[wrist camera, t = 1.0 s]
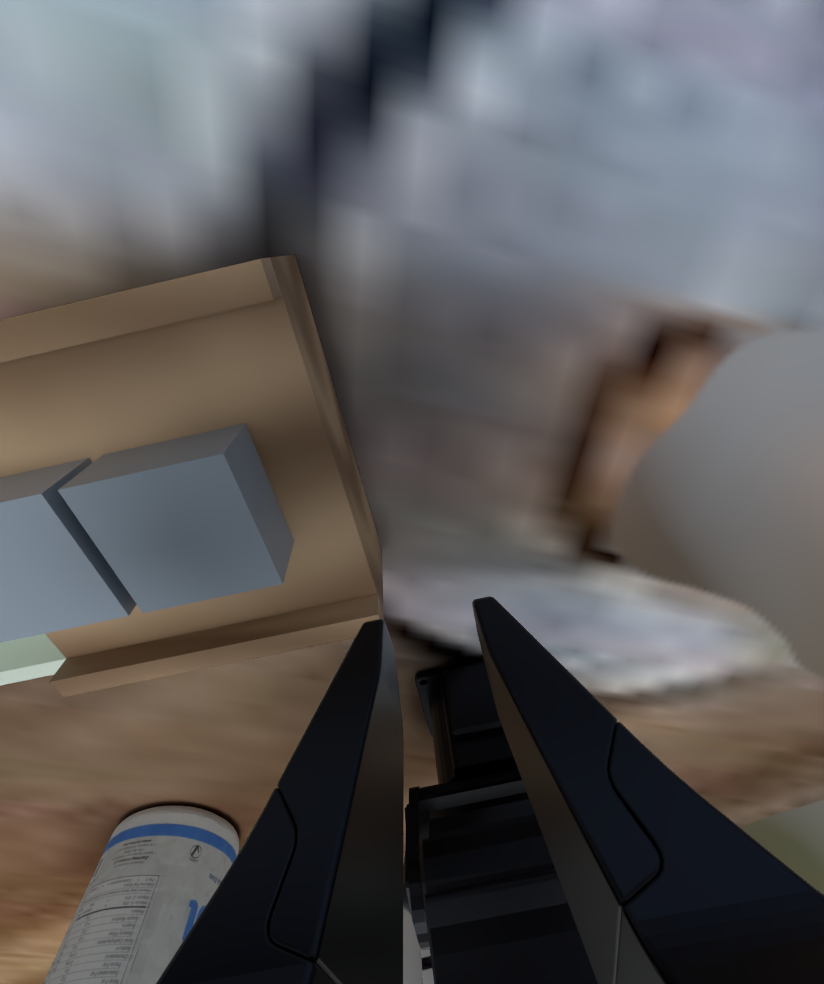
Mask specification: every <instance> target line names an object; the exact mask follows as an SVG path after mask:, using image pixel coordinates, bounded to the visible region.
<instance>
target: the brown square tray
mask: <svg viewBox="0 0 824 984" xmlns="http://www.w3.org/2000/svg"><path fill="white" fill-rule="evenodd" d="M243 423H246V426H247V428H248V430H249V433H250V435H251V438H252V440H253V442H254V445H255V447H256V450H257V452H258V455H259V457H260V459H261V462H262V464H263V467H264V469H265V471H266V474H267V476H268V479H269V481H270V484H271V486H272V488H273V491H274V493H275V496H276V498H277V501H278V503H279V505H280V508H281V510H282V513H283V515H284V517H285V520H286V522H287V525H288V527H289V530H290V532H291V534H292V537H293V539H294V545H293V548H292V552H291V556H290V559H289V563H288V567H287V571H286V574H285V578H284V582H283V584H280V585H276V586H271V587H266V588H261V589H256V590H252V591H247V592H242V593H237V594H232V595H228V596H223V597H218V598H213V599H208V600H204V601H199V602H194V603H189V604H185V605H180V606H175V607H170V608H165V609H161V610H156V611H151V612H146V613H142V611H141V610H140V608H139V607H138V605H136V606H135V608H134V609H133V611H132V612H131V614H130V615H129V616H127V617H122V618H117V619H113V620H108V621H103V622H98V623H93V624H89V625H84V626H79V627H74V628H69V629H65V630H60V631H55V632H50V633H45V635H46V636H47V637H48V638H49V639H50V640H51V641H52V643H53V644H54V645H55V646H56V647H57V648H58V649H59V651H60V652H61V653H62V654H63V655H64V656H65V657H66V660H65V661H64V662H63V664H62V665H61V667H60V668H59V669H58V671H57V672H56V673H55V675H54V676H53V677H52V679H51V680H50V681H49V683H50V684H51V685H52V686H53V687H54V688H55V689H56V690H57V691H58V692H59V693H60V694H61V695H62V696H63V697H66V696H71V695H75V694H80V693H85V692H90V691H95V690H100V689H105V688H110V687H115V686H120V685H125V684H130V683H135V682H139V681H144V680H149V679H154V678H159V677H164V676H169V675H174V674H179V673H184V672H189V671H194V670H199V669H204V668H208V667H213V666H218V665H223V664H228V663H233V662H238V661H243V660H248V659H253V658H258V657H263V656H268V655H272V654H277V653H282V652H287V651H292V650H297V649H302V648H307V647H312V646H317V645H322V644H327V643H332V642H336V641H341V640H346V639H351V638H355V637H356V636H357V634H358V632H359V630H360V628H361V626H362V625H363V623H365V622H367V621H372V620H377V619H382V620H383V580H382V549H381V545H380V542H379V539H378V535H377V532H376V528H375V525H374V522H373V518H372V515H371V511H370V508H369V505H368V501H367V498H366V494H365V491H364V488H363V484H362V481H361V478H360V474H359V471H358V467H357V464H356V461H355V457H354V454H353V450H352V447H351V444H350V440H349V437H348V434H347V430H346V427H345V423H344V420H343V417H342V413H341V410H340V406H339V403H338V400H337V396H336V393H335V389H334V386H333V383H332V379H331V376H330V373H329V369H328V366H327V362H326V359H325V356H324V352H323V349H322V345H321V342H320V339H319V335H318V332H317V328H316V325H315V322H314V318H313V315H312V312H311V308H310V305H309V301H308V298H307V295H306V291H305V288H304V284H303V281H302V278H301V274H300V271H299V267H298V264H297V261H296V257H295V254H293V255H285V256H278V257H270V258H263V259H257V260H253V261H249V262H245V263H240V264H236V265H232V266H227V267H223V268H219V269H215V270H210V271H206V272H202V273H198V274H193V275H189V276H185V277H181V278H176V279H172V280H168V281H163V282H159V283H155V284H151V285H146V286H142V287H138V288H134V289H129V290H125V291H121V292H117V293H112V294H108V295H104V296H100V297H95V298H91V299H87V300H82V301H78V302H74V303H70V304H65V305H61V306H57V307H53V308H48V309H44V310H40V311H36V312H31V313H27V314H23V315H18V316H14V317H10V318H6V319H1V320H0V477H4V476H9V475H13V474H18V473H22V472H27V471H31V470H36V469H40V468H45V467H49V466H54V465H58V464H63V463H67V462H72V461H76V460H81V459H85V458H90V460H91V461H92V463H93V462H94V461H96V460H97V459H98V458H99V457H101V456H102V455H103V454H108V453H112V452H117V451H121V450H126V449H131V448H135V447H140V446H144V445H149V444H153V443H158V442H162V441H167V440H171V439H176V438H180V437H185V436H189V435H194V434H198V433H203V432H207V431H212V430H216V429H221V428H225V427H230V426H234V425H239V424H243Z"/></svg>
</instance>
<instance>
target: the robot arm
mask: <svg viewBox="0 0 824 984" xmlns="http://www.w3.org/2000/svg"><path fill="white" fill-rule="evenodd" d="M472 604H473V610H474V616H475V621H476V627H477V632H478V636H479V641H480V645H481V649H482V653H483V657H484V660H479V661H474V662H469V663H464V664H459V665H454V666H449V667H444V668H439V669H434V670H429V671H424V672H420V673H418V674H417V675H416V676H415V681H416V686H417V690H418V693H419V696H420V700H421V703H422V706H423V709H424V713H425V716H426V719H427V723H428V726H429V729H430V732H431V735H432V736H433V742H434V750H435V758H436V767H437V775H438V785H433V786H428V787H423V788H419V786H418V787H413V788H409V804H407V807H406V808H405V820H406V851H405V858H404V866H403V725H402V714H401V705H400V697H399V688H398V679H397V670H396V661H395V654H394V649H393V645H392V642H391V639H390V636H389V633H388V630H387V626H386V623H385V621H384V620H382V619H377V620H372V621H367V622H365V623H363V625H362V626H361V628H360V630H359V632H358V634H357V636H356V637H355V639H354V641H353V643H352V645H351V647H350V649H349V651H348V652H347V654H346V656H345V658H344V660H343V662H342V664H341V666H340V668H339V669H338V671H337V673H336V675H335V677H334V679H333V681H332V683H331V684H330V686H329V688H328V690H327V692H326V694H325V696H324V698H323V699H322V701H321V703H320V705H319V707H318V709H317V711H316V713H315V714H314V716H313V718H312V720H311V722H310V724H309V726H308V728H307V729H306V731H305V733H304V735H303V737H302V739H301V741H300V743H299V745H298V746H297V748H296V750H295V752H294V754H293V756H292V758H291V760H290V761H289V763H288V765H287V767H286V769H285V771H284V773H283V775H282V776H281V778H280V780H279V782H278V788H279V789H278V788H276V789H274V791H273V793H272V795H271V797H270V799H269V800H268V802H267V804H266V806H265V808H264V810H263V812H262V813H261V815H260V817H259V819H258V821H257V822H256V824H255V826H254V828H253V830H252V831H251V833H250V835H249V837H248V838H247V840H246V842H245V844H244V846H243V847H242V849H241V851H240V852H239V854H238V855H237V857H236V859H235V860H234V862H233V863H232V865H231V867H230V868H229V870H228V872H227V873H226V875H225V876H224V878H223V880H222V881H221V883H220V885H219V886H218V888H217V889H216V891H215V892H214V894H213V896H212V897H211V899H210V900H209V902H208V903H207V905H206V906H205V908H204V910H203V911H202V913H201V914H200V916H199V917H198V919H197V920H196V922H195V924H194V925H193V927H192V928H191V930H190V931H189V933H188V934H187V936H186V938H185V939H184V941H183V942H182V944H181V945H180V947H179V948H178V950H177V952H176V953H175V955H174V956H173V958H172V959H171V961H170V963H169V964H168V966H167V967H166V969H165V970H164V972H163V973H162V975H161V977H160V978H159V980H158V981H157V983H156V984H403V907H404V908H405V909H406V910H407V911H408V912H409V913H410V915H411V918H412V922H413V925H414V927H415V932H416V936H417V940H418V943H419V945H420V948H421V949H422V950H426V949H430V954H431V961H432V969H433V976H434V984H824V895H823V894H822V893H820V892H819V891H818V890H816V889H815V888H814V887H813V886H811V885H810V884H809V883H807V882H806V881H805V880H804V879H802V878H801V877H800V876H799V875H797V874H796V873H795V872H794V871H792V870H791V869H790V868H789V867H788V866H786V865H785V864H784V863H783V862H781V861H780V860H779V859H778V858H777V857H775V856H774V855H773V854H771V853H770V852H769V851H768V850H767V849H765V848H764V847H763V846H762V845H760V844H759V843H758V842H757V841H756V840H754V839H753V838H752V837H751V836H750V835H748V834H747V833H746V832H745V831H743V830H742V829H741V828H740V827H739V826H737V825H736V824H735V823H734V822H732V821H731V820H730V819H729V818H727V817H726V816H725V815H724V814H723V813H721V812H720V811H719V810H718V809H716V808H715V807H714V806H713V805H712V804H710V803H709V802H708V801H707V800H705V799H704V798H703V797H702V796H701V795H699V794H698V793H697V792H696V791H695V790H694V789H692V788H691V787H690V786H689V785H688V784H687V783H685V782H684V781H683V780H682V779H681V778H679V777H678V776H677V775H676V774H675V773H674V772H672V771H671V770H670V769H669V768H668V767H667V766H666V765H664V764H663V763H662V762H661V761H660V760H659V759H658V758H657V757H656V756H655V755H654V754H653V753H652V752H651V751H649V750H648V749H647V748H646V747H645V746H644V745H643V744H642V743H641V742H640V741H639V740H638V739H637V738H636V737H635V736H634V735H633V734H632V733H631V732H630V731H629V730H628V729H627V728H626V727H625V726H624V725H623V724H622V723H620V722H617V719H616V718H615V717H614V716H613V715H612V714H611V713H610V712H609V711H608V710H607V709H606V708H605V707H604V706H603V705H602V704H601V703H600V702H599V701H598V700H597V699H596V698H595V697H594V696H593V695H592V694H591V693H590V692H589V691H588V690H587V689H586V688H585V687H584V686H583V685H582V684H581V683H580V682H579V681H578V680H577V679H576V678H575V677H574V676H573V675H572V674H571V673H570V672H569V671H568V670H566V669H565V668H564V667H563V666H562V665H561V664H560V663H559V662H558V661H557V660H556V659H555V658H554V657H553V656H552V655H551V654H550V653H549V652H548V651H547V650H546V649H545V648H544V647H543V646H542V645H541V644H540V643H539V642H538V641H537V640H536V639H535V638H534V637H533V636H532V635H531V634H530V633H529V632H528V631H527V630H526V629H525V628H524V627H523V626H522V625H521V624H520V623H519V622H518V621H517V620H516V619H515V618H514V617H513V616H512V615H511V614H510V613H509V612H508V611H507V610H506V609H505V608H504V607H503V606H502V605H501V604H500V603H498V602H497V601H496V600H495V599H494V598H493V597H485V598H480V599H475V600H474V601H473V603H472Z"/></svg>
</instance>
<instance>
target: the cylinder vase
mask: <svg viewBox="0 0 824 984" xmlns="http://www.w3.org/2000/svg"><path fill="white" fill-rule="evenodd" d="M403 984H423V978H422V963H421V948H420V945H419V943H418V940H417V936H416V932H415V927H414V925H413V922H412V918H411V915H410V913H409V912H408V911H407V910H406V909H405V908H404V907H403Z"/></svg>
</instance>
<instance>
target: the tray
mask: <svg viewBox="0 0 824 984" xmlns="http://www.w3.org/2000/svg"><path fill="white" fill-rule="evenodd" d="M65 660H66V657H65V656H64V655H63V654H62V653H61V652H60V651H59V649H58V648H57V647H56V646H55V645H54V644H53V643H52V641H51V640H50V639H49V638H48V637H47V636H46V635H45V634H41V635H36V636H31V637H26V638H21V639H17V640H12V641H7V642H2V643H0V685H5V684H10V683H15V682H19V681H24V680H29V679H34V678H39V677H44V676H49V675H54V674H55V673H56V672H57V671H58V669H59V668H60V667H61V665H62V664H63V662H64V661H65Z"/></svg>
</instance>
